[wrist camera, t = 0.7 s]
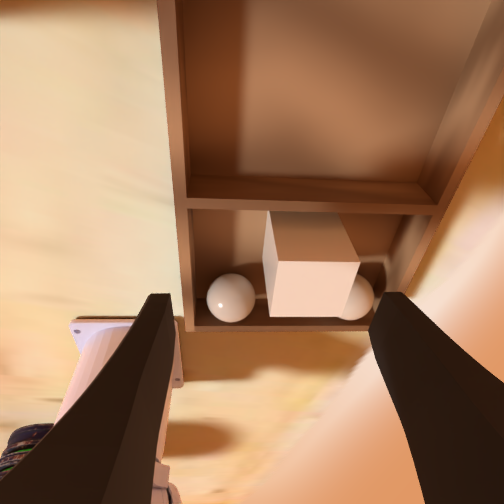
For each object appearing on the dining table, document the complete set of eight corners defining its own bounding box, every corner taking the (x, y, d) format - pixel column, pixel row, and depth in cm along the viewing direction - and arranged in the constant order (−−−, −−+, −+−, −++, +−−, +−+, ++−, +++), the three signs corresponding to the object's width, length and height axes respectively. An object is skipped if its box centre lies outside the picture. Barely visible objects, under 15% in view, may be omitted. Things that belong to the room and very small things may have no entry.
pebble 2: (358, 295, 25) (372, 330, 23) (316, 295, 25) (326, 330, 22) (370, 262, 23) (388, 297, 21) (325, 262, 23) (337, 296, 20)
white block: (321, 258, 23) (341, 316, 19) (262, 257, 22) (269, 316, 18) (334, 207, 20) (360, 262, 16) (268, 205, 20) (278, 261, 16)
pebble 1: (252, 296, 25) (255, 332, 22) (207, 296, 24) (205, 332, 22) (255, 263, 23) (259, 298, 20) (207, 262, 22) (205, 298, 20)
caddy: (371, 299, 26) (385, 331, 24) (189, 299, 25) (185, 331, 23) (513, -38, 14) (571, -41, 12) (163, -73, 13) (149, -84, 10)
